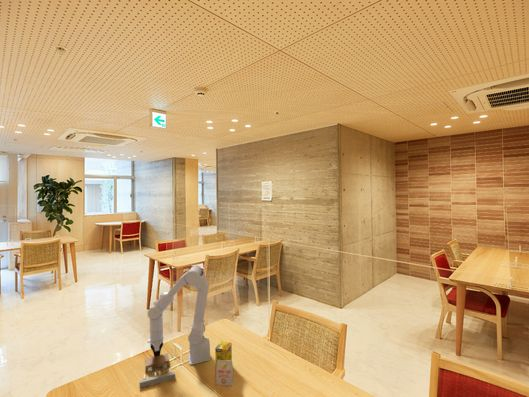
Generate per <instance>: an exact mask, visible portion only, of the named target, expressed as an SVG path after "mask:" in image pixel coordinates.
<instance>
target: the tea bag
mask: <svg viewBox="0 0 529 397" xmlns="http://www.w3.org/2000/svg"><path fill="white" fill-rule="evenodd" d="M214 372H215V373H214V375H215V377H214V379H215V382H214V383H215V384H214V386H215V387H228V386H229V387H232V386H233V382H234V364H233V359H232V360H216V362H215V371H214ZM229 387H228V388H229Z"/></svg>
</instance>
